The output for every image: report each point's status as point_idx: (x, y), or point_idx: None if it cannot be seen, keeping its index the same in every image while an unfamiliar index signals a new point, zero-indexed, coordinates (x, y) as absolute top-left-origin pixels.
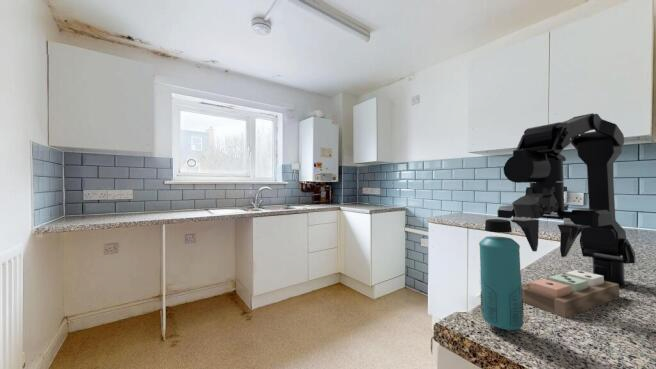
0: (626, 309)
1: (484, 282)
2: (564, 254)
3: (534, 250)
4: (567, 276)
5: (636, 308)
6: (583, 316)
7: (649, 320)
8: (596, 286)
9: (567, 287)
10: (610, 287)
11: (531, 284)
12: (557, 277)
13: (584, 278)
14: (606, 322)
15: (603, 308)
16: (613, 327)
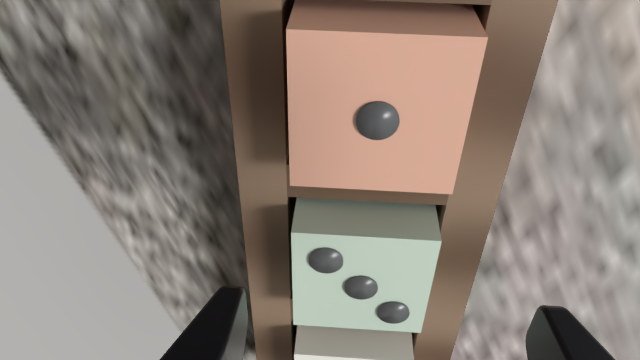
0: (195, 262)
1: None
2: (206, 313)
3: (541, 316)
4: (381, 321)
5: (189, 293)
6: (212, 42)
7: (106, 221)
8: (286, 328)
9: (289, 154)
10: (256, 352)
11: (472, 31)
12: (405, 272)
13: (327, 350)
14: (134, 62)
15: (233, 211)
16: (88, 28)
